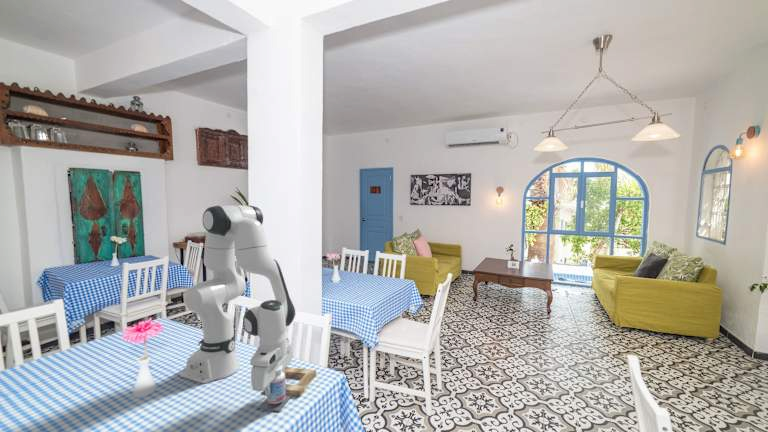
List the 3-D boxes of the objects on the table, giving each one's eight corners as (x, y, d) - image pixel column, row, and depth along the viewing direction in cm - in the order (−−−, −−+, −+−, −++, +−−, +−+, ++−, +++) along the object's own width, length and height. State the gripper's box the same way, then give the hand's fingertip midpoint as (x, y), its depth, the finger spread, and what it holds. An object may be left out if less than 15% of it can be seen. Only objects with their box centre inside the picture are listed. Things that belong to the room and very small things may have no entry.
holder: (265, 392, 115) (264, 387, 115) (284, 371, 128) (284, 366, 128) (300, 396, 112) (300, 391, 112) (316, 374, 126) (316, 370, 126)
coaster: (257, 409, 105) (257, 407, 105) (270, 394, 113) (270, 393, 113) (279, 412, 104) (279, 410, 104) (291, 397, 112) (291, 395, 112)
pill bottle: (280, 405, 105) (278, 373, 104) (263, 403, 106) (262, 371, 105) (289, 394, 111) (287, 364, 110) (273, 392, 112) (272, 362, 111)
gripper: (280, 335, 118) (281, 370, 119) (246, 363, 98) (248, 405, 99) (295, 336, 117) (297, 372, 118) (264, 364, 97) (266, 407, 98)
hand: (274, 387), depth 108 cm, fingers closed on pill bottle, 6 cm apart
